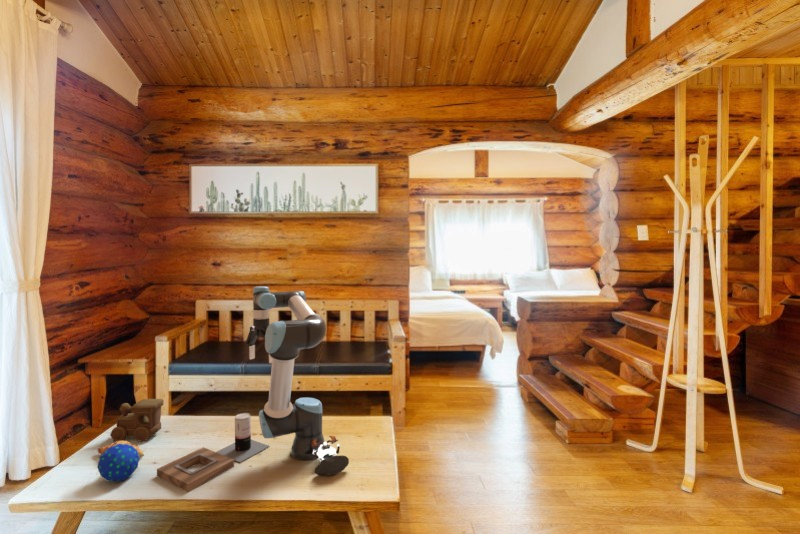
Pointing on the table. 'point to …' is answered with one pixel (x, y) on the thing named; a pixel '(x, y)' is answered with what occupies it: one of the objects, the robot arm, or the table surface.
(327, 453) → the figurine
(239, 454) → the rubber mat
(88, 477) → the table surface
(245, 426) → the beverage can
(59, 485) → the table surface
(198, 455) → the socket stand
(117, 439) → the wooden toy train
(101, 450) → the croissant
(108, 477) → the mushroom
